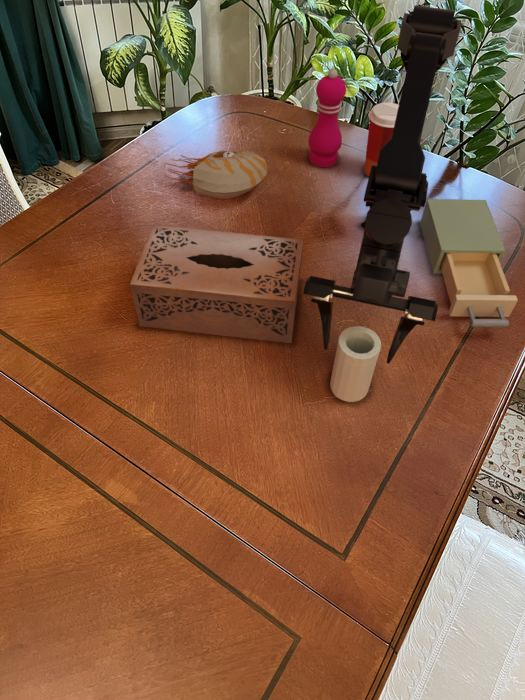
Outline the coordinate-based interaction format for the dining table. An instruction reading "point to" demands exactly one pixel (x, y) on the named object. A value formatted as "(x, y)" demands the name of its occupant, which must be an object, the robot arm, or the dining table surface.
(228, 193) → the nautilus
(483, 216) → the cabinet
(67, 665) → the dining table surface
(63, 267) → the dining table surface
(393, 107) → the paper cup
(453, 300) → the drawer
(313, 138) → the pepper mill
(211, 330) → the tissue box cover
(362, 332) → the jar
